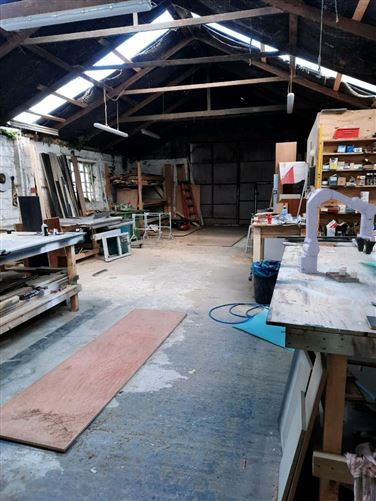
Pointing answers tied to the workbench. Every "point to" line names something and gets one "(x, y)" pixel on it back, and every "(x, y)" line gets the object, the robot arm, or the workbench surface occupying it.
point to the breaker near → (353, 274)
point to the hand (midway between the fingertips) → (364, 252)
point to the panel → (341, 277)
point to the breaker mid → (342, 271)
